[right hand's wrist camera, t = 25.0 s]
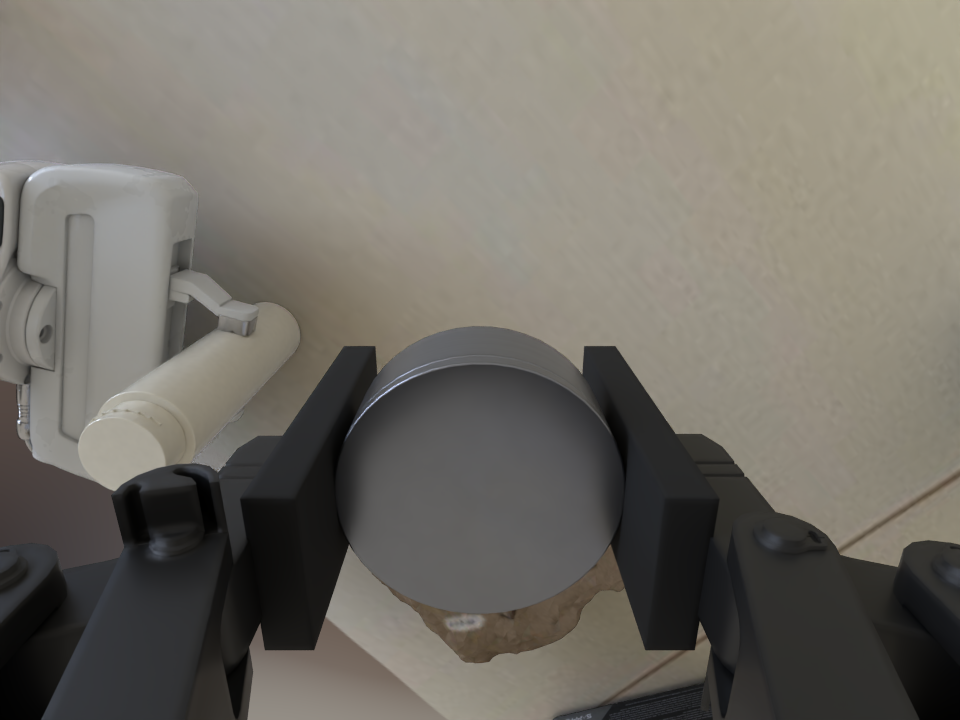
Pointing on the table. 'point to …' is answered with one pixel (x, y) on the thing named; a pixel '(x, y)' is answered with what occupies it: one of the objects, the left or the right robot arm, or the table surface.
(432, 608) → the stone
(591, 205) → the table surface
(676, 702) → the graphics card box
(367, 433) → the lid
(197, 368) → the cream cylindrical bottle
